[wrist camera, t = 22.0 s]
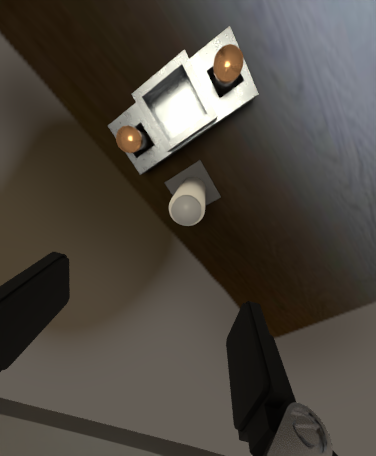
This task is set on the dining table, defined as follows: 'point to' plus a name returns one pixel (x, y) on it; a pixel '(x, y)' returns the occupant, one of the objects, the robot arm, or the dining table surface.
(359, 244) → the dining table surface
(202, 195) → the cylinder
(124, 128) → the plunger
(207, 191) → the mat
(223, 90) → the plunger
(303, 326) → the dining table surface
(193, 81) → the housing
